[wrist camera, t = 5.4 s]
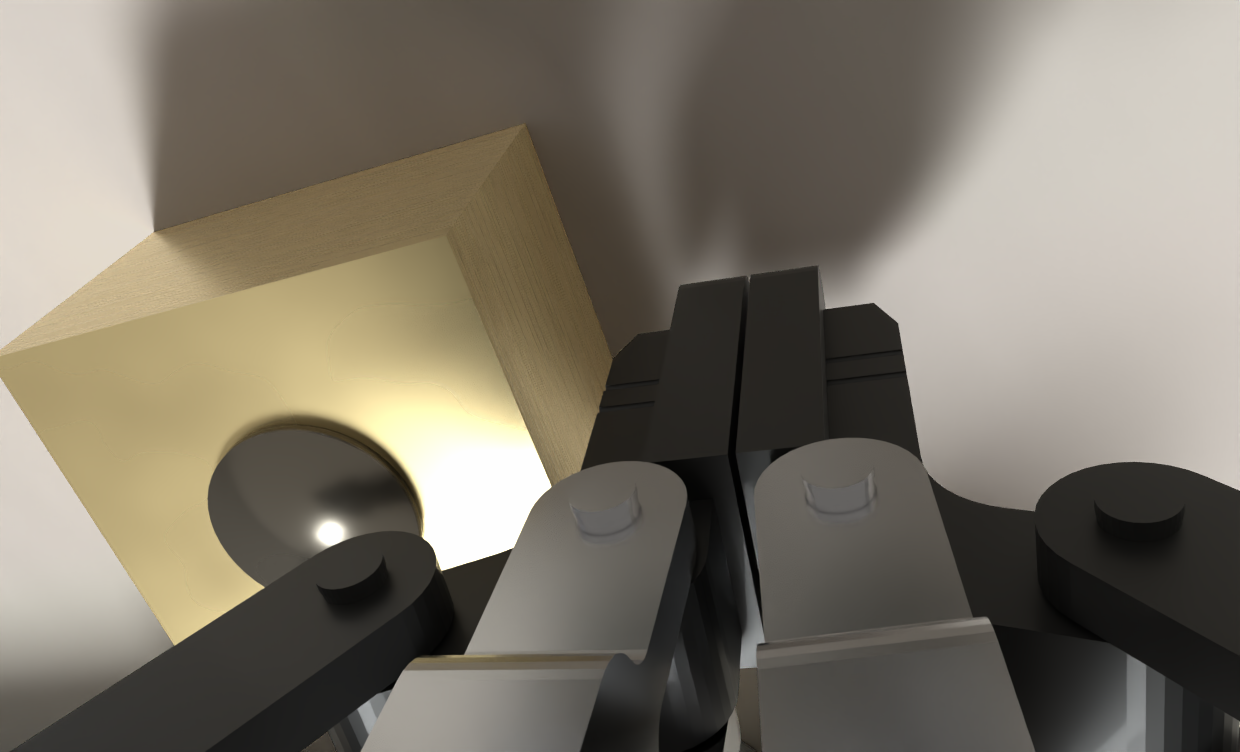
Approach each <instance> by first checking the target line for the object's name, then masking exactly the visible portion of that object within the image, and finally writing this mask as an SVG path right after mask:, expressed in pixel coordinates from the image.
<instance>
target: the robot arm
mask: <svg viewBox="0 0 1240 752" xmlns="http://www.w3.org/2000/svg"><path fill="white" fill-rule="evenodd" d="M605 387H606V391H604V392H603V395H602V398H601V402H600V405H599V413H597V415H596V419H595V422H594V426H593V429H592V433H591V436H590V439H589V443H588V446H587V450H586V453H585V456H584V460H583V463H582V467H581V470H580V471H579V472H577V473H574V474H572V475H570V476H568V477H566V478H564V479H562V480H561V481H559V482H558V483H556V484H555V485H553V486H552V487H550V488H549V489H548V490H547V491H546V492H544V493H543V494H542V495H541V496H540V497H539V499H538V500H537V501H536V502H535V503H534V505H533V507H532V508H531V510H530V512H529V514H528V516H527V518H526V521H525V523H524V525H523V527H522V529H521V532H520V534H519V536H518V538H517V540H516V543H515V545H514V547H513V548H511V549H508V550H506V551H503V552H500V553H497V554H494V555H491V556H488V557H484V558H481V559H478V560H475V561H471V562H468V563H465V564H462V565H458V566H455V567H452V568H448V569H445V570H441V568H440V565H439V562H438V559H437V557H436V554H435V551H434V549H433V547H432V546H431V545H430V543H429V542H428V541H426V540H425V539H424V538H422V537H420V536H418V535H415V534H412V533H408V532H402V531H381V532H374V533H368V534H364V535H360V536H356V537H353V538H350V539H347V540H345V541H342V542H339V543H337V544H335V545H333V546H331V547H329V548H326V549H325V550H323V551H321V552H320V553H318V554H316V555H314V556H313V557H311V558H310V559H308V560H307V561H305V562H304V563H302V564H300V565H299V566H297V567H296V568H294V569H293V570H291V571H290V572H288V573H287V574H285V575H283V576H282V577H280V578H279V579H277V580H276V581H274V582H273V583H271V584H269V585H268V586H266V587H265V588H263V589H262V590H260V591H259V592H257V593H256V594H254V595H252V596H251V597H249V598H248V599H246V600H245V601H243V602H242V603H240V604H238V605H237V606H235V607H234V608H232V609H231V610H229V611H228V612H226V613H224V614H223V615H221V616H220V617H218V618H217V619H215V620H214V621H212V622H211V623H209V624H207V625H206V626H204V627H203V628H201V629H200V630H198V631H197V632H195V633H193V634H192V635H190V636H189V637H187V638H186V639H184V640H183V641H181V642H179V643H178V644H176V645H175V646H173V647H172V648H170V649H169V650H167V651H166V652H164V653H162V654H161V655H159V656H158V657H156V658H155V659H153V660H152V661H150V662H148V663H147V664H145V665H144V666H142V667H141V668H139V669H138V670H136V671H135V672H133V673H131V674H130V675H128V676H127V677H125V678H124V679H122V680H121V681H119V682H117V683H116V684H114V685H113V686H111V687H110V688H108V689H107V690H105V691H103V692H102V693H100V694H99V695H97V696H96V697H94V698H93V699H91V700H90V701H88V702H86V703H85V704H83V705H82V706H80V707H79V708H77V709H76V710H74V711H72V712H71V713H69V714H68V715H66V716H65V717H63V718H62V719H60V720H58V721H57V722H55V723H54V724H52V725H51V726H49V727H48V728H46V729H45V730H43V731H41V732H40V733H38V734H37V735H35V736H34V737H32V738H31V739H29V740H27V741H26V742H24V743H23V744H21V745H20V746H18V747H17V748H15V749H14V750H12V751H10V752H300V751H302V750H303V749H304V748H306V747H307V746H308V745H310V744H311V743H312V742H314V741H315V740H316V739H318V738H319V737H320V736H322V735H323V734H324V733H326V732H327V731H328V733H329V735H330V737H331V739H332V742H333V744H334V746H335V748H336V750H337V752H739V750H740V743H741V730H740V725H739V720H738V716H737V712H736V707H735V706H736V703H737V698H738V690H739V674H740V668H755V667H757V679H758V695H759V712H760V728H761V744H762V752H1240V727H1239V725H1240V491H1239V490H1236V489H1234V488H1232V487H1229V486H1227V485H1224V484H1222V483H1220V482H1217V481H1215V480H1213V479H1210V478H1208V477H1206V476H1203V475H1200V474H1198V473H1195V472H1192V471H1189V470H1186V469H1182V468H1178V467H1174V466H1169V465H1163V464H1156V463H1143V462H1122V463H1111V464H1103V465H1098V466H1094V467H1089V468H1085V469H1083V470H1080V471H1077V472H1074V473H1071V474H1069V475H1067V476H1066V477H1064V478H1062V479H1060V480H1058V481H1057V482H1056V483H1054V484H1053V485H1051V486H1050V487H1049V488H1048V489H1047V490H1046V491H1045V492H1044V493H1043V494H1042V496H1041V497H1040V499H1039V501H1038V503H1037V505H1036V510H1035V512H1034V511H1025V510H1016V509H1007V508H1001V507H994V506H989V505H985V504H981V503H977V502H973V501H971V500H968V499H965V498H962V497H960V496H958V495H956V494H954V493H952V492H950V491H948V490H946V489H945V488H944V487H942V486H941V485H939V484H938V483H937V482H936V481H935V480H934V479H933V478H932V477H931V476H930V475H929V474H928V472H927V471H926V469H925V467H924V465H923V463H922V459H921V455H920V449H919V444H918V438H917V432H916V426H915V420H914V414H913V409H912V403H911V397H910V391H909V385H908V379H907V375H906V368H905V362H904V356H903V350H902V344H901V338H900V333H899V327H898V323H897V322H896V321H895V320H894V319H892V318H891V317H890V316H889V315H887V314H886V313H885V312H884V311H883V310H881V309H880V308H879V307H878V306H877V305H875V304H874V303H870V304H863V305H855V306H847V307H840V308H832V309H825V302H824V295H823V288H822V282H821V276H820V270H819V266H811V267H803V268H796V269H789V270H782V271H775V272H768V273H761V274H754V275H751V278H750V284H749V281H748V278H747V276H741V277H733V278H726V279H719V280H712V281H705V282H698V283H691V284H683V285H680V286H679V290H678V294H677V299H676V304H675V309H674V313H673V318H672V323H671V327H670V330H666V331H658V332H651V333H643V334H638V335H637V336H636V337H635V338H634V339H633V340H632V341H631V342H630V343H629V344H628V345H627V346H626V347H625V348H624V349H623V350H622V351H621V352H620V353H619V354H618V355H617V356H616V357H615V358H614V359H613V361H612V364H611V368H610V371H609V374H608V378H607V381H606V385H605Z"/></svg>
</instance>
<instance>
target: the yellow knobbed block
mask: <svg viewBox="0 0 1240 752" xmlns="http://www.w3.org/2000/svg"><path fill="white" fill-rule="evenodd" d="M612 361H613V359H612V356H611V353H610V351H609V348H608V345H607V343H606V340H605V337H604V334H603V332H602V329H601V326H600V324H599V321H598V318H597V316H596V313H595V310H594V307H593V305H592V302H591V299H590V297H589V294H588V291H587V288H586V286H585V283H584V280H583V278H582V275H581V272H580V270H579V267H578V264H577V261H576V259H575V256H574V253H573V251H572V248H571V245H570V242H569V240H568V237H567V234H566V232H565V229H564V226H563V224H562V221H561V218H560V215H559V213H558V210H557V207H556V205H555V202H554V199H553V196H552V194H551V191H550V188H549V186H548V183H547V180H546V178H545V175H544V172H543V169H542V167H541V164H540V161H539V159H538V156H537V153H536V151H535V148H534V145H533V142H532V140H531V137H530V134H529V132H528V129H527V126H526V123H524V124H521V125H517V126H514V127H510V128H507V129H504V130H500V131H497V132H493V133H490V134H487V135H483V136H480V137H476V138H473V139H470V140H466V141H463V142H459V143H456V144H453V145H449V146H446V147H442V148H439V149H436V150H432V151H429V152H425V153H422V154H418V155H415V156H412V157H408V158H405V159H401V160H398V161H395V162H391V163H388V164H384V165H381V166H378V167H374V168H371V169H367V170H364V171H361V172H357V173H354V174H350V175H347V176H343V177H340V178H337V179H333V180H330V181H326V182H323V183H320V184H316V185H313V186H309V187H306V188H303V189H299V190H296V191H292V192H289V193H286V194H282V195H279V196H275V197H272V198H269V199H265V200H262V201H258V202H255V203H251V204H248V205H245V206H241V207H238V208H234V209H231V210H228V211H224V212H221V213H217V214H214V215H211V216H207V217H204V218H200V219H197V220H194V221H190V222H187V223H183V224H180V225H177V226H173V227H170V228H166V229H163V230H159V231H156V232H153V233H152V234H151V235H150V236H148V237H147V238H146V239H144V240H143V241H142V242H140V243H139V244H138V245H137V246H135V247H134V248H133V249H131V250H130V251H129V252H127V253H126V254H125V255H124V256H122V257H121V258H120V259H118V260H117V261H116V262H114V263H113V264H112V265H111V266H109V267H108V268H107V269H105V270H104V271H103V272H101V273H100V274H99V275H97V276H96V277H95V278H94V279H92V280H91V281H90V282H88V283H87V284H86V285H84V286H83V287H82V288H81V289H79V290H78V291H77V292H75V293H74V294H73V295H71V296H70V297H69V298H68V299H66V300H65V301H64V302H62V303H61V304H60V305H58V306H57V307H56V308H55V309H53V310H52V311H51V312H49V313H48V314H47V315H45V316H44V317H43V318H41V319H40V320H39V321H38V322H36V323H35V324H34V325H32V326H31V327H30V328H28V329H27V330H26V331H25V332H23V333H22V334H21V335H19V336H18V337H17V338H15V339H14V340H13V341H12V342H10V343H9V344H8V345H6V346H5V347H4V348H2V349H1V350H0V377H1V379H2V380H3V382H4V384H5V385H6V387H7V388H8V390H9V391H10V393H11V394H12V396H13V397H14V399H15V401H16V402H17V404H18V405H19V407H20V408H21V410H22V411H23V413H24V414H25V416H26V417H27V419H28V421H29V422H30V424H31V425H32V427H33V428H34V430H35V431H36V433H37V434H38V436H39V438H40V439H41V441H42V442H43V444H44V445H45V447H46V448H47V450H48V451H49V453H50V455H51V456H52V458H53V459H54V461H55V462H56V464H57V465H58V467H59V468H60V470H61V471H62V473H63V475H64V476H65V478H66V479H67V481H68V482H69V484H70V485H71V487H72V488H73V490H74V492H75V493H76V495H77V496H78V498H79V499H80V501H81V502H82V504H83V505H84V507H85V508H86V510H87V512H88V513H89V515H90V516H91V518H92V519H93V521H94V522H95V524H96V525H97V527H98V529H99V530H100V532H101V533H102V535H103V536H104V538H105V539H106V541H107V542H108V544H109V545H110V547H111V549H112V550H113V552H114V553H115V555H116V556H117V558H118V559H119V561H120V562H121V564H122V566H123V567H124V569H125V570H126V572H127V573H128V575H129V576H130V578H131V579H132V581H133V582H134V584H135V586H136V587H137V589H138V590H139V592H140V593H141V595H142V596H143V598H144V599H145V601H146V603H147V604H148V606H149V607H150V609H151V610H152V612H153V613H154V615H155V616H156V618H157V619H158V621H159V623H160V624H161V626H162V627H163V629H164V630H165V632H166V633H167V635H168V636H169V638H170V640H171V641H172V643H173V644H174V646H175V645H176V644H178V643H179V642H181V641H183V640H184V639H186V638H187V637H189V636H190V635H192V634H193V633H195V632H197V631H198V630H200V629H201V628H203V627H204V626H206V625H207V624H209V623H211V622H212V621H214V620H215V619H217V618H218V617H220V616H221V615H223V614H224V613H226V612H228V611H229V610H231V609H232V608H234V607H235V606H237V605H238V604H240V603H242V602H243V601H245V600H246V599H248V598H249V597H251V596H252V595H254V594H256V593H257V592H259V591H260V590H262V589H263V588H265V587H266V586H268V585H269V584H271V583H273V582H274V581H276V580H277V579H279V578H280V577H282V576H283V575H285V574H287V573H288V572H290V571H291V570H293V569H294V568H296V567H297V566H299V565H300V564H302V563H304V562H305V561H307V560H308V559H310V558H311V557H313V556H314V555H316V554H318V553H320V552H321V551H323V550H325V549H326V548H329V547H331V546H333V545H335V544H337V543H339V542H342V541H345V540H347V539H350V538H353V537H356V536H360V535H364V534H368V533H374V532H381V531H402V532H408V533H412V534H415V535H418V536H420V537H422V538H424V539H425V540H426V541H428V542H429V543H430V545H431V546H432V547H433V549H434V551H435V554H436V557H437V559H438V562H439V565H440V568H441V570H445V569H448V568H452V567H455V566H458V565H462V564H465V563H468V562H471V561H475V560H478V559H481V558H484V557H488V556H491V555H494V554H497V553H500V552H503V551H506V550H508V549H511V548H513V547H514V545H515V543H516V540H517V538H518V536H519V534H520V532H521V529H522V527H523V525H524V523H525V521H526V518H527V516H528V514H529V512H530V510H531V508H532V507H533V505H534V503H535V502H536V501H537V500H538V499H539V497H540V496H541V495H542V494H543V493H544V492H546V491H547V490H548V489H549V488H550V487H552V486H553V485H555V484H556V483H558V482H559V481H561V480H562V479H564V478H566V477H568V476H570V475H572V474H574V473H577V472H579V471H580V470H581V467H582V463H583V460H584V456H585V453H586V450H587V446H588V443H589V439H590V436H591V433H592V429H593V426H594V422H595V419H596V415H597V413H599V405H600V402H601V398H602V395H603V392H604V391H606V387H605V385H606V381H607V378H608V374H609V371H610V368H611V364H612Z"/></svg>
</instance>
